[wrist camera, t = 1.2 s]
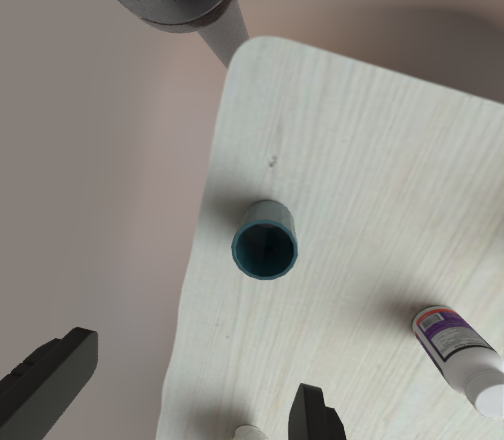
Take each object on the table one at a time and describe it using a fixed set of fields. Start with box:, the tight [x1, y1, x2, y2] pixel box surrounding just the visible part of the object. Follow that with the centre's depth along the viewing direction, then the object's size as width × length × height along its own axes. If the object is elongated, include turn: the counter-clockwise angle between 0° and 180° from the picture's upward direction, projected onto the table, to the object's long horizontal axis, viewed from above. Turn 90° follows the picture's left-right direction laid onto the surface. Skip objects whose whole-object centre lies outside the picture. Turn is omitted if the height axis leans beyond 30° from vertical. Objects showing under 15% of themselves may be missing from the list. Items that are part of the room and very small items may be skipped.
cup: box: [231, 200, 298, 280], centre depth 26 cm, size 6×6×7 cm
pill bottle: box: [412, 306, 504, 419], centre depth 26 cm, size 5×5×10 cm
